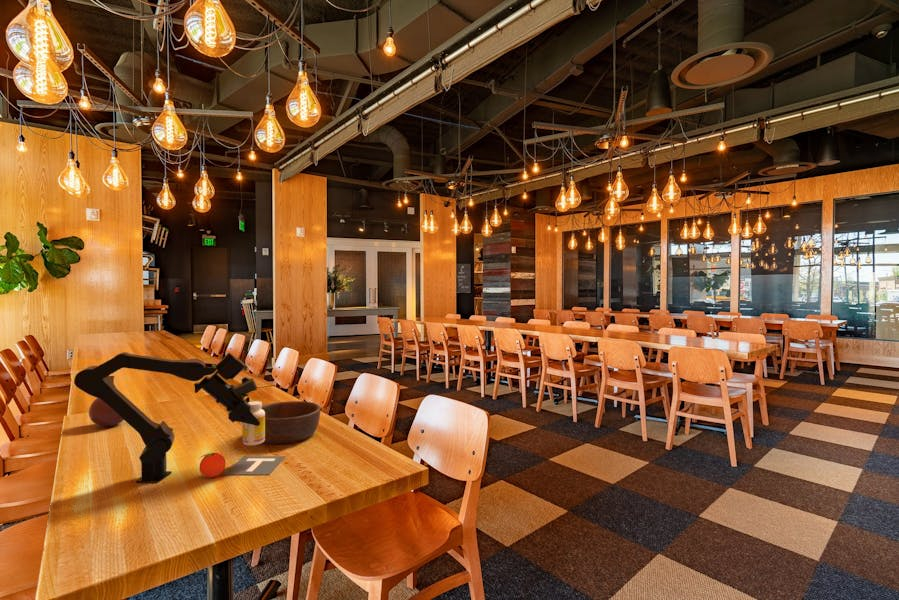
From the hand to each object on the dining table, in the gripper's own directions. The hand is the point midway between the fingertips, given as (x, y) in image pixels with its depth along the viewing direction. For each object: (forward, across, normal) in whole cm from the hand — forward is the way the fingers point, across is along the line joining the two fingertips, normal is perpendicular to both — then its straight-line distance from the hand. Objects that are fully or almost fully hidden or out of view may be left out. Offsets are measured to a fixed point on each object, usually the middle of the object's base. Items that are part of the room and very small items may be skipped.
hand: (258, 421), depth 139 cm
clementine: (0, -6, +19) cm, 20 cm away
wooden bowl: (+17, +23, +2) cm, 29 cm away
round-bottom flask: (-27, +64, +47) cm, 84 cm away
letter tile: (+9, -3, +10) cm, 14 cm away
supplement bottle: (+4, 0, +6) cm, 7 cm away
